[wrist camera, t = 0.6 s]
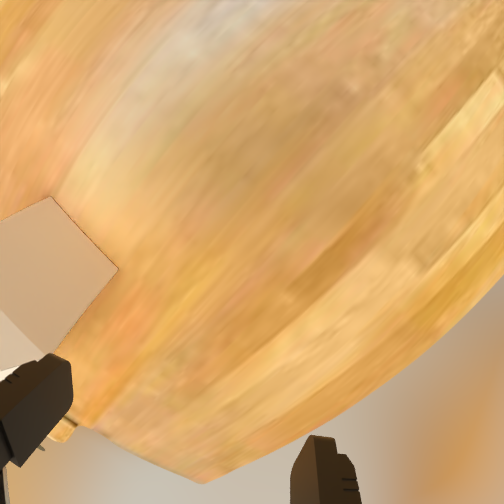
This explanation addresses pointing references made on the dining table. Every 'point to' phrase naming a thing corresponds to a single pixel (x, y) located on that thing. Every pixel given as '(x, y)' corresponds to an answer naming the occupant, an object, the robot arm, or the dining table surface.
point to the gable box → (44, 281)
